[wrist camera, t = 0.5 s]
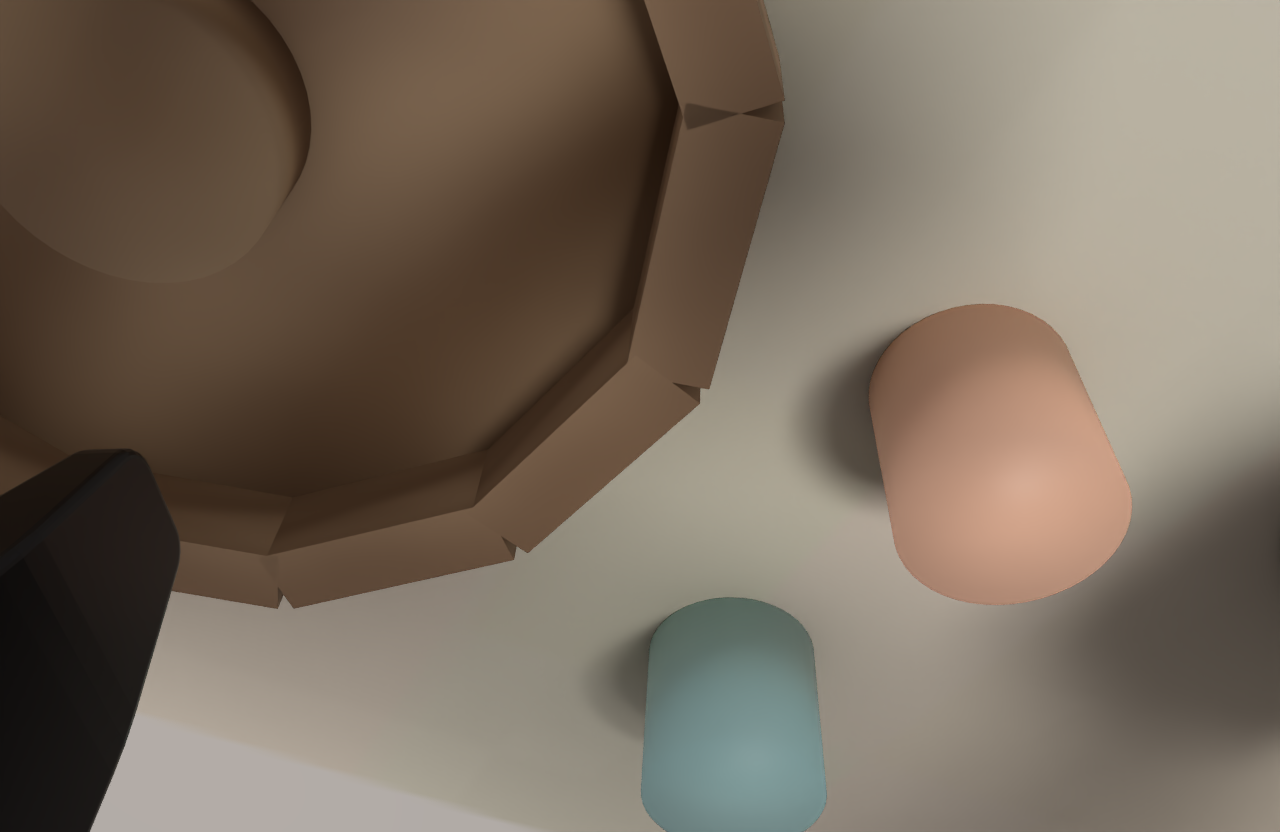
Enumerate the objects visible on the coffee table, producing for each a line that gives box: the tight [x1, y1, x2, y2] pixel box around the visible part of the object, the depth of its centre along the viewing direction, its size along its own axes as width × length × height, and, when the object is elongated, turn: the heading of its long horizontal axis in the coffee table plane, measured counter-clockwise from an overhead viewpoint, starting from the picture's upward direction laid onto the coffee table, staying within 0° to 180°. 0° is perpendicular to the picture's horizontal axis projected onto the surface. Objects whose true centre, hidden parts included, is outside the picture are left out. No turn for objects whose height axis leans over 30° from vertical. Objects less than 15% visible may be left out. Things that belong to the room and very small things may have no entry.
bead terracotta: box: [869, 304, 1132, 605], centre depth 22 cm, size 4×4×4 cm
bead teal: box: [641, 598, 827, 832], centre depth 27 cm, size 4×4×4 cm
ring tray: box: [0, 0, 785, 609], centre depth 19 cm, size 20×20×3 cm
